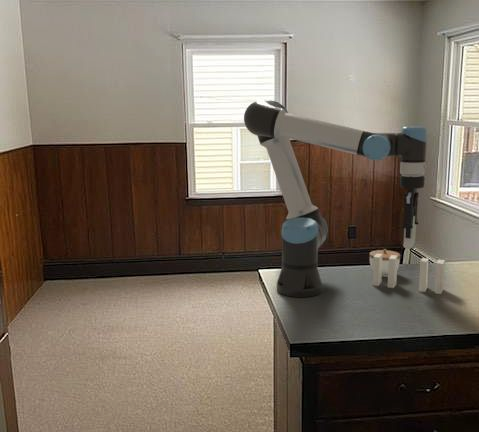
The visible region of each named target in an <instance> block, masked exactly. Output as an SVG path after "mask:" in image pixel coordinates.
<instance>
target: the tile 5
mask: <svg viewBox="0 0 479 432" xmlns="http://www.w3.org/2000/svg"><path fill="white" fill-rule="evenodd" d="M445 262H446V260H445V259H438V260H437V261H436V264H435V266H436V268H435V270H436V271H435V286H434V293H435V294H438V295H442V294H443V291H444V280H445V279H444V278H445Z"/></svg>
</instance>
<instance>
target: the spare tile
mask: <svg viewBox="0 0 479 432" xmlns="http://www.w3.org/2000/svg"><path fill="white" fill-rule="evenodd" d="M415 225H416V224H415V216H413V246H415V244H414V228H415Z"/></svg>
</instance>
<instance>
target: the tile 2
mask: <svg viewBox="0 0 479 432" xmlns="http://www.w3.org/2000/svg"><path fill="white" fill-rule="evenodd" d="M397 258H398V256H397V255H391V256H390V258H389V264H388V277H387V288H391V289H394V288H395V287H396V285H397V277H398V270H397Z"/></svg>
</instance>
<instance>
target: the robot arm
mask: <svg viewBox="0 0 479 432" xmlns="http://www.w3.org/2000/svg"><path fill="white" fill-rule="evenodd" d="M243 122H244V123H243V124H244V126H245V128H246V129H247V130H248V132H250V133H251V134H252V135H255V136H257V139H258V142H259V145H260V146H262V147H264V148H266V151H267V155H268V156H269V160H270V163H271V165H272V166H271V167H272V168H273V171H274V175H275V177H276V180H277V183H278V186H279V188H280V191H281V194H282V197H283V200H284V202H285V206H286V209H287V212H288V214H287V216H286V218H285V219H286V220H285V221H284V222H283V223H282V226H281V230H280V231H281V269H280V272H279V275H278V278H277V281H276V291H277V292H278V293H279V294H281V295H283V296H287V297H294V298H309V297H314V296H317V295H320V294H322V292H323V282H322V281H323V280H322V277H321V275H320V272H319V269H318V255H319V254H318V249H319V248H320V247H321V246H322V245H323V244H324V243H325V241H326V240H327V238H328V232H329V231H328V230H329V229H328V228H329V227H328V224H327V222H326V220H325V219H324V218H323V217H322V216H321V213H320V210H319V207H318V206H316V205H313V203H312V201H311V198H310V195H309V192H308V189H307V186H306V183H305V181H304V177H303V174H302V172H301V169H300V167H299V163H298V160H297V158H296V155H295V152H294V151H295V150H294V149H293V146H292V143H291V140H295V141H298V142H302V143H306V144H311V145H315V146H320V147H322V148H328V149H332V150H336V151H340V152H344V153H348V154H352V155H357V156H359V157H364V158H367V159H369V160H371V161H375V162H377V161H381V160H384V159H385V158H386V157H392V158H393V157H400V164H399V165H400V166H399V167H400V168H399V173H400V177H399V187H400V188H403V189H406V192H405V193H404V197H403V201H404V203H403V204H404V206H403V224H402V225H401V228H402V229H403V248H405V249H413V247H414V245H416V230H417V225H419V221H418V204H419V195H420V193H419V191H418V189H423V188H424V187H425V180H426V179H425V176H424V175H425V174H426V173H425V171H426V169H427V168H428V166H427V165H426V155H427V129H426V127H424V126H403V127H402V129H401V132H396V133H391V132H388V133H387V132H384V133H383V132H381V133H380V132H369V131H364V130H361V129H357V128H353V127H349V126H345V125H344V126H343V125H341V124H335V123H331V122H327V121H322V120H318V119H314V118H309V117H305V116H302V115H301V116H300V115H297V114H293V113H289V111H288V109H286V106H284V105H283V104H281V103H280V102H277V101H275V100H263V99H262V100H256V101H254V102H252V103H250V104H249V105H248V106H247V108H246V109H245V111H244V114H243ZM413 216H415V228H414V245H413Z"/></svg>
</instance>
